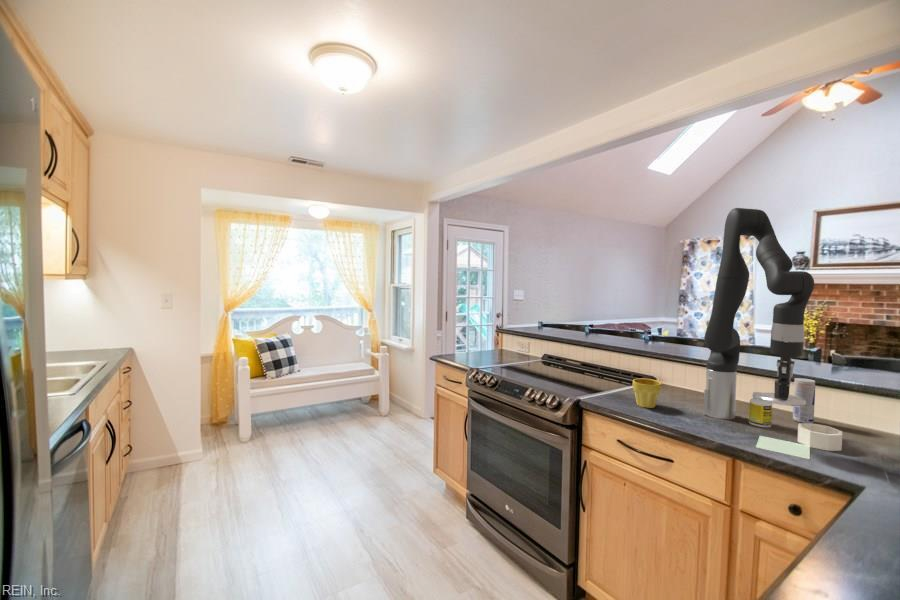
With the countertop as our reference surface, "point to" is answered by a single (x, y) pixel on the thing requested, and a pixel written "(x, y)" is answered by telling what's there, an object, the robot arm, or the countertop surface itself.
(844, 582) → the countertop surface
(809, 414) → the beverage can
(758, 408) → the pill bottle
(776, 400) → the lid
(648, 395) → the plant pot
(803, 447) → the mat
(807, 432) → the bowl
